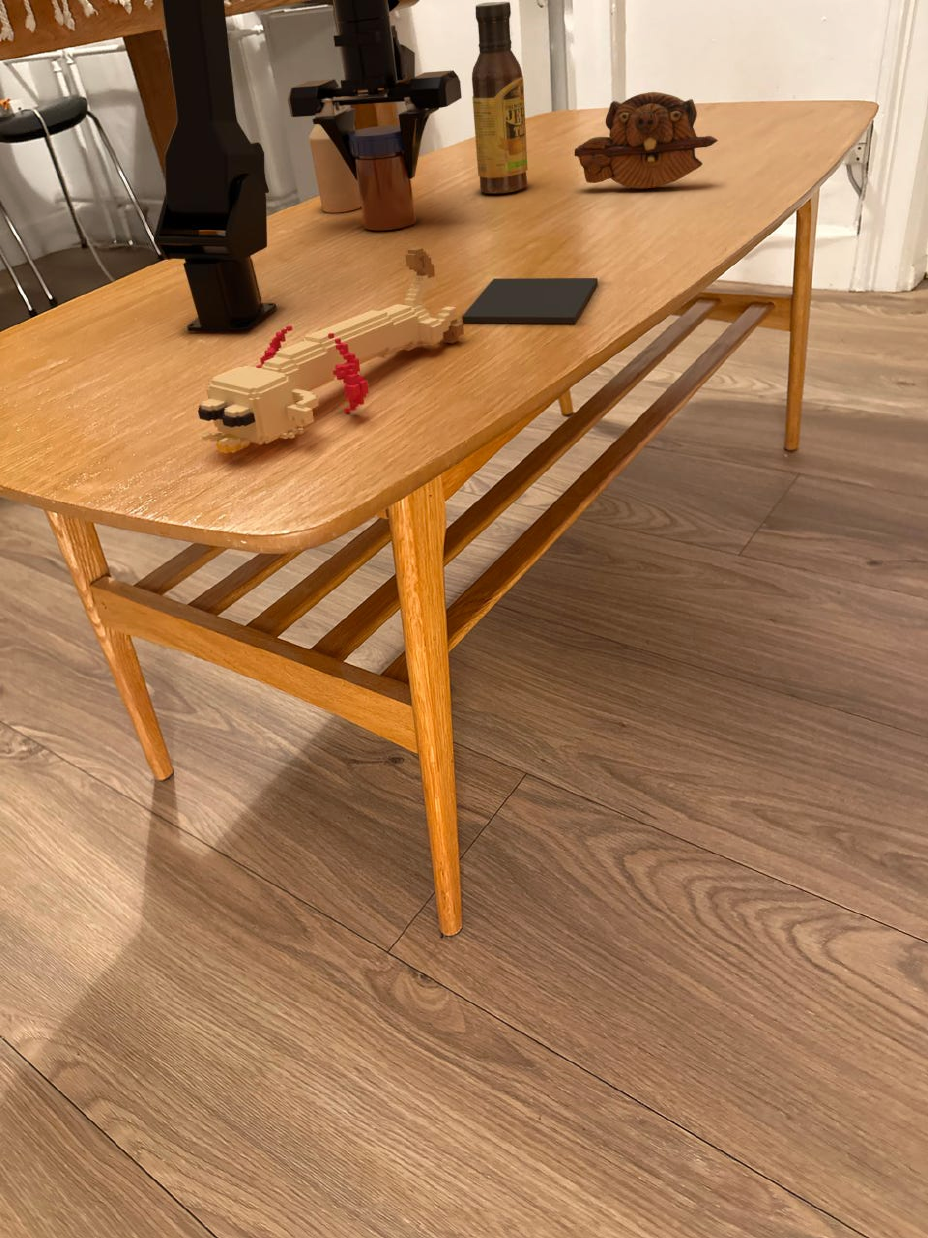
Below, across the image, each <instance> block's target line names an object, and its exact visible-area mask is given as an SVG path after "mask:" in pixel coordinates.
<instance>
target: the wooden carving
mask: <svg viewBox="0 0 928 1238" xmlns="http://www.w3.org/2000/svg"><path fill="white" fill-rule="evenodd" d="M608 107H609V108H608V112H607V114H606V118H605V125H606V127H607V129H608V130H609V134H608V136H595V137H592V138H591V137H590V138H589V139H588V140H586V141H585V142H583V143H581V144H579V145H578V146H577V147H575V148H574V157H575V158H576V157H577V158H578V161H579V164H580V166H581V167H582V169H583V174H584V179H585V182H586V183H589V184H597V183H601V182H604V181H607V180H609V179H611V180H612V181H613V182H615V183H617V184H619V185H621V186H623V187H627V188H633V189H651V188H659V187H662V186H666V185H669V184H670V183H674V182H676V181H678V180H681V179H682V178H684V177H685V176H688V175H690V174H691V173H693V172H694V171H696V170H697V169H699V168H701V166H703V162H702V161H701V160H700V159H699V158H697V157H696V149H699V148H700V149H701V148H708V147H711V146H713V145H715V144H716V143H717V142H718V141H719V140H718V139H717V138H716V137H714V136H712V135H706V136H697V134H696V130H695V128H694V125H695V123H696V120H697V116H698V112H697V107H696V104H695V101H694V99H693V98H690V99H687V100H683V99H681V98H680V97H678V96H676V95H672V94H669V93H665V92H657V91H649V92H643V93H639V94H636V95H634V96H631V97H629V98H627V99H626V100H624V101H623V102H619V101H617V100H613V101H612V102H610V104H609V106H608Z"/></svg>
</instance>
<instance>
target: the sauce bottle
mask: <svg viewBox="0 0 928 1238" xmlns="http://www.w3.org/2000/svg"><path fill="white" fill-rule="evenodd" d="M511 9H512V8H511V2H510V1H491V2H489V1H488V2H482V3H481V2H480V3H479V4H476V5H475V20H476V22H477V28H478V31H477V32H478V48H479V49H478V50H479V51H478V52H479V54H478V56H477V59H476V61H475V63H474V65H473V68H472V71H471V84H472V97H471V98H472V111H473V124H474V136H475V138H474V139H475V151H476V163H477V165H476V166H477V175H478V177H479V187H480V191H481V192H482V193H484V194H509V193H514V192H517V191H520V190H522V189H524V188H526V186H527V184H528V179H527V171H528V168H529V167H528V150H527V148H528V147H527V131H526V130H527V127H526V108H525V107H526V105H525V87H524V86H525V85H524V83H525V82H524V76H523V71H522V66H521V64H520V62H519V60H518V58H517V57H516V56H515V53H513V51H512V39H511V24H510V18H511V15H512V10H511Z"/></svg>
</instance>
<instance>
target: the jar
mask: <svg viewBox="0 0 928 1238" xmlns="http://www.w3.org/2000/svg"><path fill="white" fill-rule="evenodd" d="M354 160H355V166H356V173H357V180H358V187H359V194H360V201H361V207H360V208H361V214H362V215H361V216H362V221H363V227H364V229H366V230H369V231H375V232H376V231H377V232H379V231H381V232H382V231H393V230H399V229H404V228H406V227H411V226H412V225H414V224H415V223H416V222H417V216H416V208H415V200H414V192H413V191H414V190H413V182H412V178H411V179H410V178H409V177H408V173H407V170H406V166H405V159H404V152H403V151H400V152H396V153H391V154H385V155H376V156H355V158H354Z"/></svg>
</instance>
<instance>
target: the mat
mask: <svg viewBox="0 0 928 1238" xmlns="http://www.w3.org/2000/svg"><path fill="white" fill-rule="evenodd" d="M598 282H599V278H597V277H545V278H544V277H542V278H541V277H539V278H537V277H533V278H532V277H531V278H529V277H528V278H527V277H526V278H525V277H524V278H523V277H522V278H520V277H519V278H518V277H517V278H514V277H513V278H512V277H511V278H493V279H492V280H491V281H490V282H489V284H488V285H487V286H486V287H485V289H483V291H481V293H480V294H479V296H478V297H477V298H476V299H475V300H474V301H473V303H472V304H471V305H470V306H469V308H468V309H467V310H466V311H465V312H464V313H463V315H462V317H461V319H462V323H463V324H530V325H531V324H533V325H534V324H535V325H536V324H540V325H541V324H543V325H544V324H545V325H550V324H551V325H555V324H556V325H574V324H576V323H577V321H578V319H579V317H580V316H581V314H582V313H583V311H584V309H585V307H586V305H587V303H588V301H589V300H590V298H591V297H592V295H593V293H594V291H595V289H596V288H597V287H598V284H599V283H598Z"/></svg>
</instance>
